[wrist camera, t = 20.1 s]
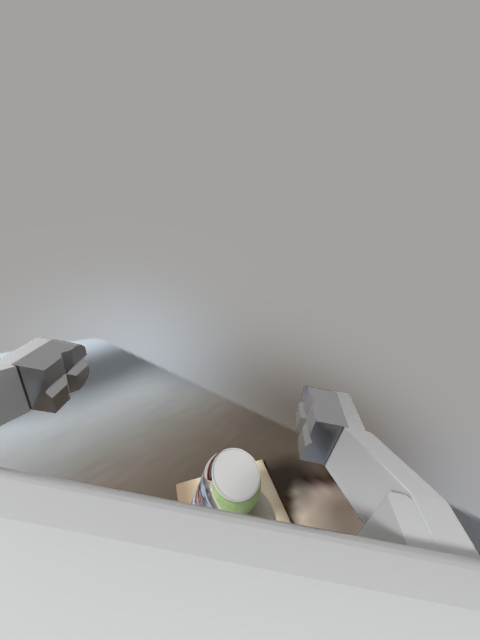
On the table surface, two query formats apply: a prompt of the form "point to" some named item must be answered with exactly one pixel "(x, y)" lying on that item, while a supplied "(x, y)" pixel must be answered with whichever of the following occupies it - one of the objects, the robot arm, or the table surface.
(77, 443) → the table surface
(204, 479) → the beverage can
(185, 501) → the birch mat
